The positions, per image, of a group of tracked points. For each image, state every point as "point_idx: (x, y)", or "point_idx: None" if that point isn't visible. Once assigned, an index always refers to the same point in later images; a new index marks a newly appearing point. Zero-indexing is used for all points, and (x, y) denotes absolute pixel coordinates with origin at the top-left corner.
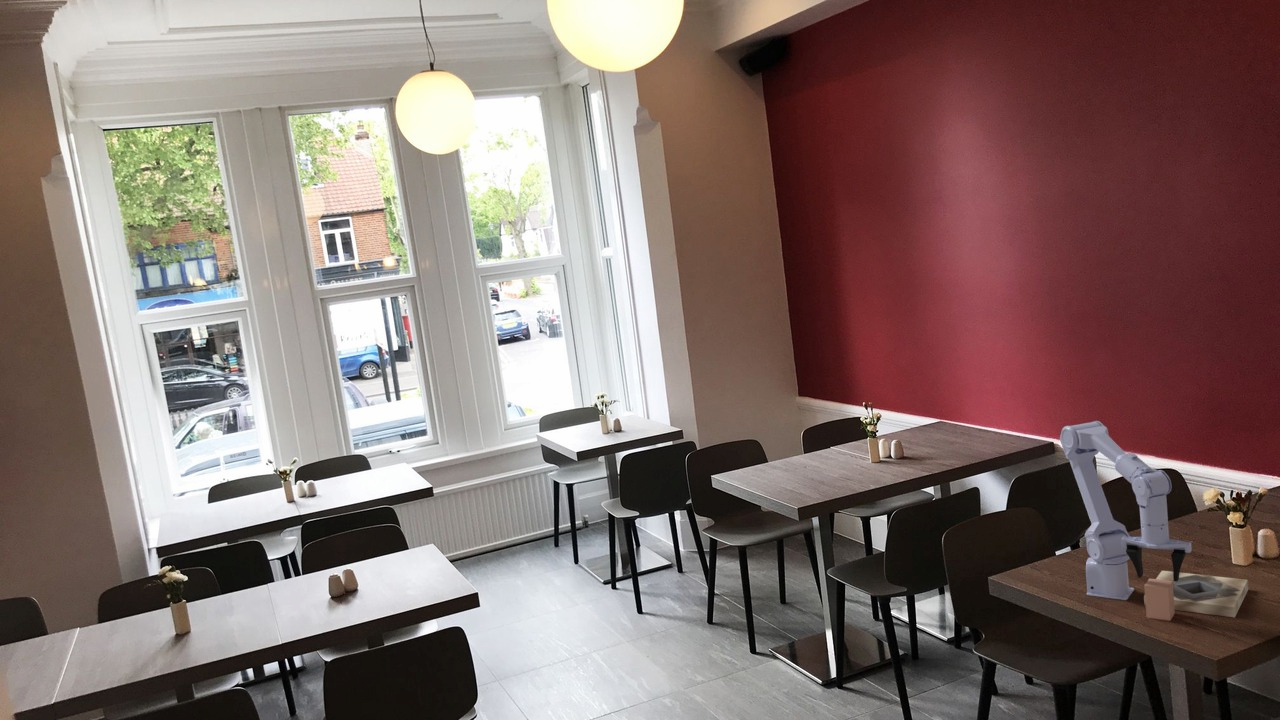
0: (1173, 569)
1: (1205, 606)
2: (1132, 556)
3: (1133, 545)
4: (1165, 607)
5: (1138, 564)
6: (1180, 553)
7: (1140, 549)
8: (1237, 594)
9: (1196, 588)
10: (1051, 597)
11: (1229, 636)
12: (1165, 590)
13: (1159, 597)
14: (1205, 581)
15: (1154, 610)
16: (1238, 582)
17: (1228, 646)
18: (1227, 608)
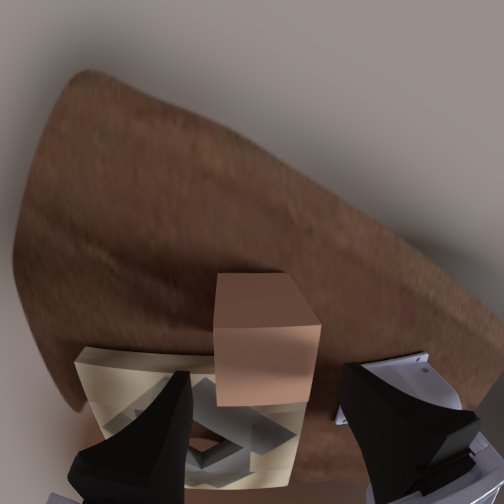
0: (173, 409)
1: (140, 365)
2: (436, 415)
3: (443, 485)
4: (229, 288)
5: (381, 400)
6: (99, 498)
7: (386, 491)
8: (105, 429)
9: (207, 455)
10: (477, 309)
11: (60, 223)
12: (224, 321)
13: (250, 304)
14: (190, 471)
15: (266, 282)
16: None
17: (53, 154)
18: (89, 360)
